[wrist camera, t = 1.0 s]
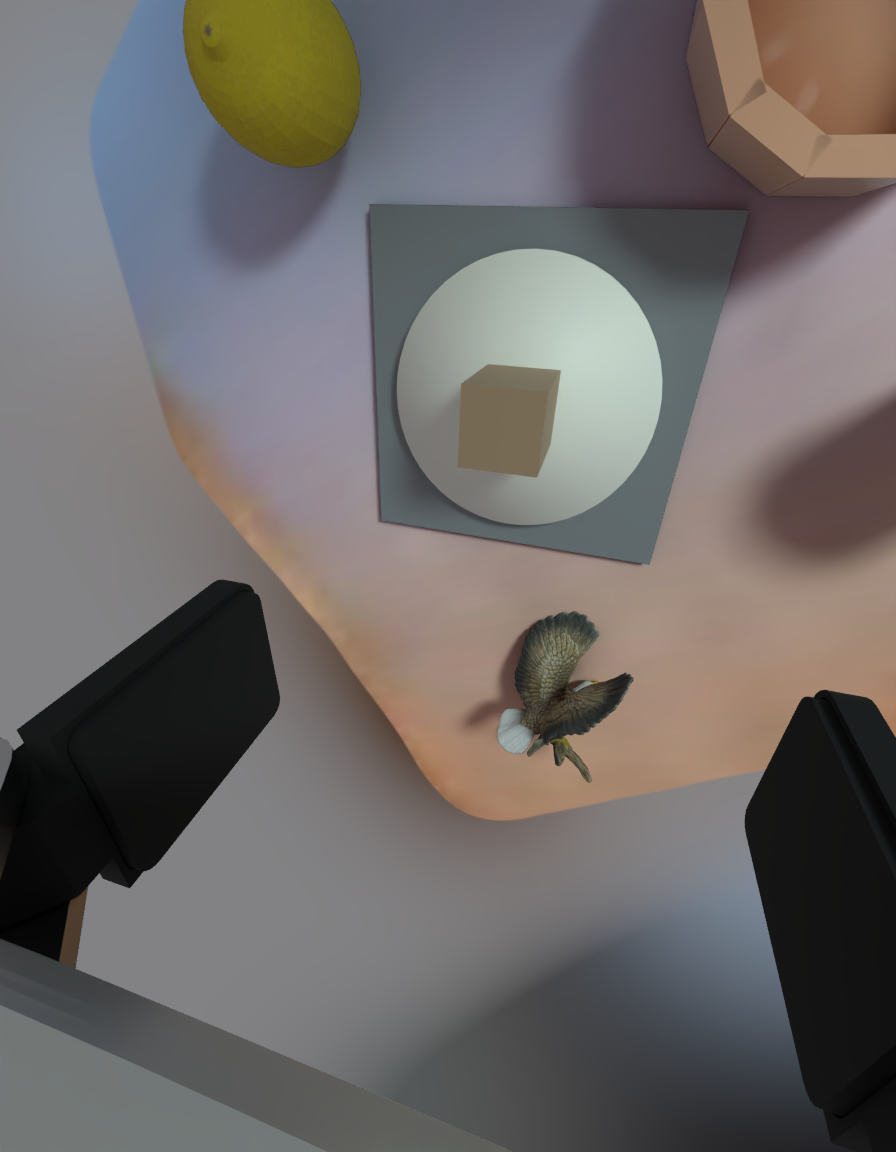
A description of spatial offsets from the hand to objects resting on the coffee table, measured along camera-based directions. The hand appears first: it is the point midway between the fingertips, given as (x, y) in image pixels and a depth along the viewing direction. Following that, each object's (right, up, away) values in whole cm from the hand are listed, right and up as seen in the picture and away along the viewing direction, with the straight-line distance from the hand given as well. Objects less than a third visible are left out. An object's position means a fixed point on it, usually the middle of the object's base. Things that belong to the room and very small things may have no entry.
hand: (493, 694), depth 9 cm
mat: (+3, +11, +17) cm, 21 cm away
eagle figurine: (+7, -4, +25) cm, 27 cm away
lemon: (-6, +23, +13) cm, 27 cm away
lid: (+3, +11, +17) cm, 20 cm away
